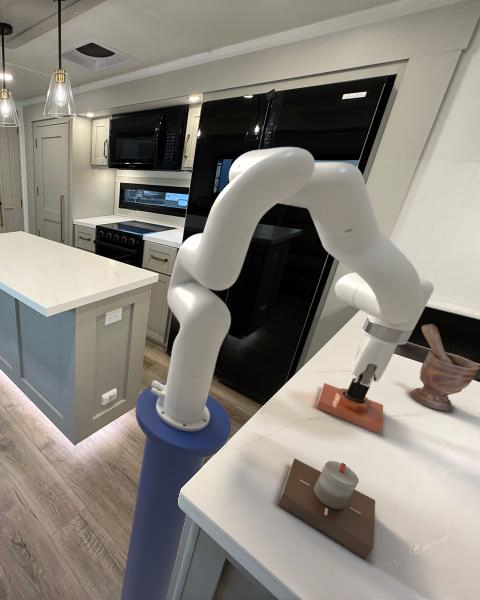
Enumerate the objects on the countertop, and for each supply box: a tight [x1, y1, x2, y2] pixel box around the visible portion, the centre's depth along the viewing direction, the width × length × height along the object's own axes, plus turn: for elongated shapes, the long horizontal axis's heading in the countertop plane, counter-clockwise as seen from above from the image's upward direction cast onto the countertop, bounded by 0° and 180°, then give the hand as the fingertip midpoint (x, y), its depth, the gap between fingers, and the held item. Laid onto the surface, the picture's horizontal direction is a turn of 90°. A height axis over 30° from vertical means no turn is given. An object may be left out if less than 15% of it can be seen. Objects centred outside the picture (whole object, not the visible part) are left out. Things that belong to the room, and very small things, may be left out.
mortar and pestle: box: [410, 323, 480, 412], centre depth 79 cm, size 12×9×20 cm
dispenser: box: [315, 382, 384, 435], centre depth 77 cm, size 12×10×4 cm
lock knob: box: [314, 460, 360, 509], centre depth 52 cm, size 4×4×6 cm
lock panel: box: [277, 457, 376, 560], centre depth 54 cm, size 12×10×3 cm
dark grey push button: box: [344, 391, 363, 403], centre depth 76 cm, size 4×4×2 cm
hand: (355, 395), depth 76 cm, fingers closed
